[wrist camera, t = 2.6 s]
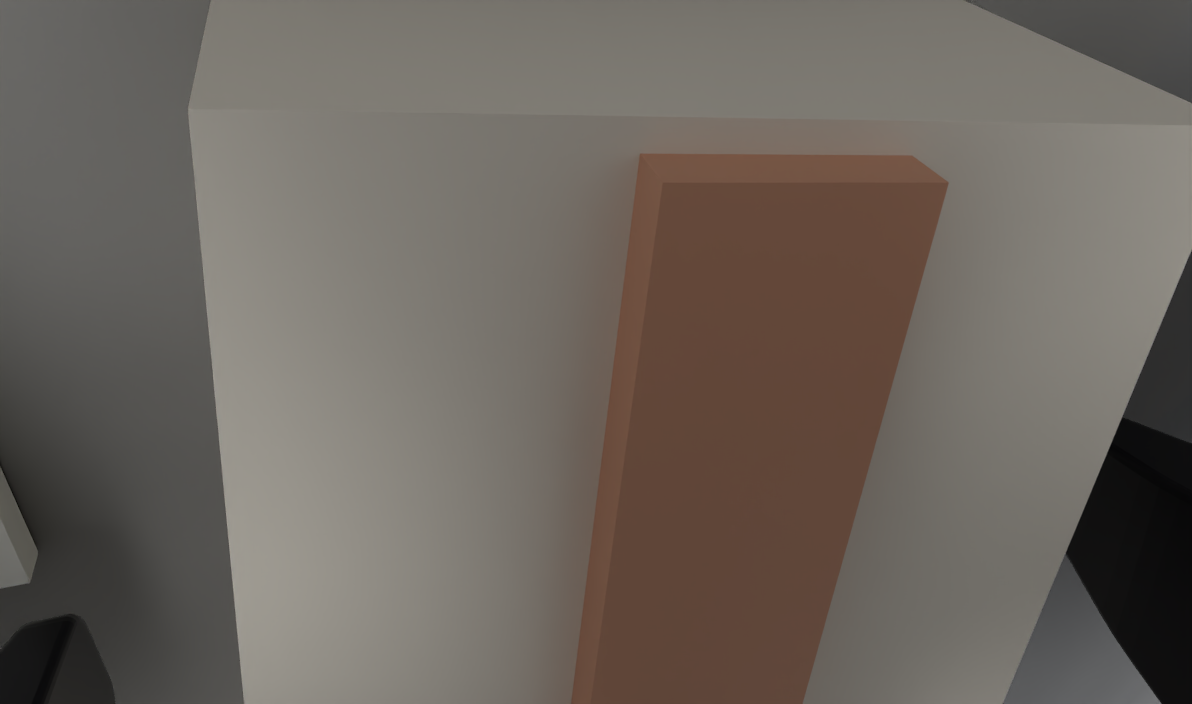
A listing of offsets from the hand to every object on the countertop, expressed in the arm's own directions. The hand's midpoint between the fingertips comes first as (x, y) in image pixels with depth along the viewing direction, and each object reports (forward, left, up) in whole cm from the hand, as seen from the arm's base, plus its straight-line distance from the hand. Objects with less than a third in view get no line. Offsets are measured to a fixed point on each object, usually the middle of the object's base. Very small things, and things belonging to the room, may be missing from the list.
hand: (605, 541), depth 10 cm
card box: (0, 0, -2) cm, 2 cm away
